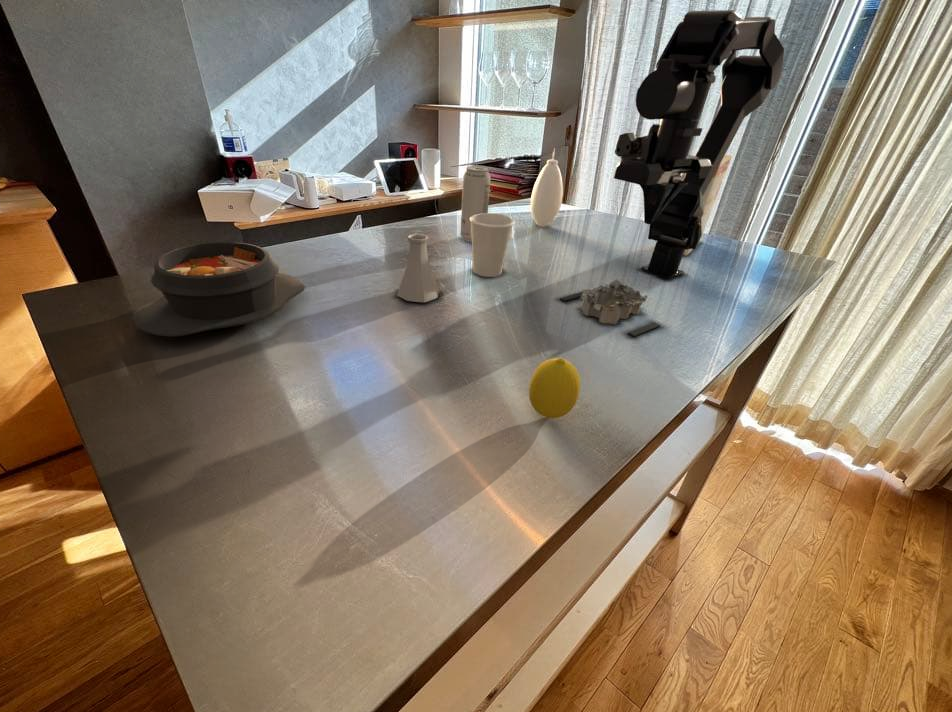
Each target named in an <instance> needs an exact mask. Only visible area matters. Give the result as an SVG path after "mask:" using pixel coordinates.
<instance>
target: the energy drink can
mask: <svg viewBox="0 0 952 712" xmlns="http://www.w3.org/2000/svg"><path fill="white" fill-rule="evenodd" d="M491 178H492V177H491V175H490V172H489V168H488V167H486V166H480V165H478V166H477V165H476V166H475V165H471V166H467V167H466V170H465V172H464V174H463V176H462V192H461V211H460V212H461V213H460V229H459V230H460V233H459V235H460V237H461V239H462V241H464V242H467V243H472V233H471V221H470V217H472V216H473V215H476V214H482V213H489V202H490V201H489V200H490V192H491V191H490V190H491V180H492V179H491Z"/></svg>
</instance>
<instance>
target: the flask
mask: <svg viewBox="0 0 952 712" xmlns="http://www.w3.org/2000/svg"><path fill="white" fill-rule="evenodd" d="M428 240H429V236H428V235H426V234H422V233H413V234H409V235H408V237H407V241H408V242H409V252H408V253H409V255H408V259H407V264H406V266H405V269H404V273H403V276H402V278H401V282H400V285H399V288H398V291H397V294H396V296H397V297H398V298H401V299H403V300H405V301H407V302H415V303H424V304H425V303H427V302H431V301H433V300H435V299H438V296H439V294H440V289H439V286H438V284H437V281H436V279H435V275H434V273H433V271H432V270H433V269H432V267H431V263H430V261H429V256H428V251H427V243H428Z"/></svg>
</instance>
